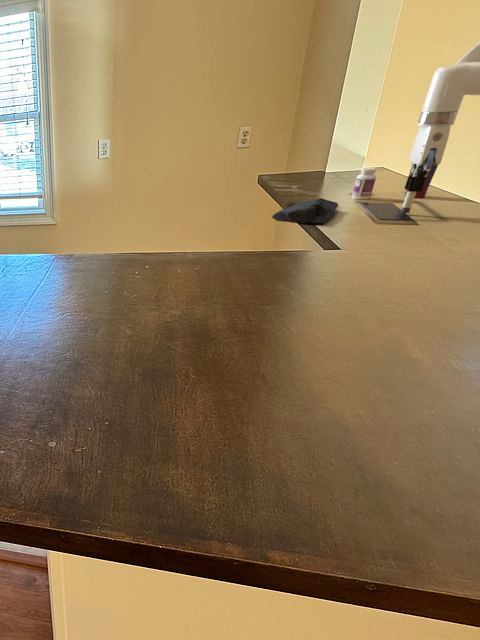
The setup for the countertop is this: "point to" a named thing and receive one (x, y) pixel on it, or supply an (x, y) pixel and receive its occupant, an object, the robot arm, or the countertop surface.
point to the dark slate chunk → (308, 212)
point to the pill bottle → (364, 184)
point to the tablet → (385, 213)
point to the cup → (426, 182)
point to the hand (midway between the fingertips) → (412, 189)
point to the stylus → (408, 201)
